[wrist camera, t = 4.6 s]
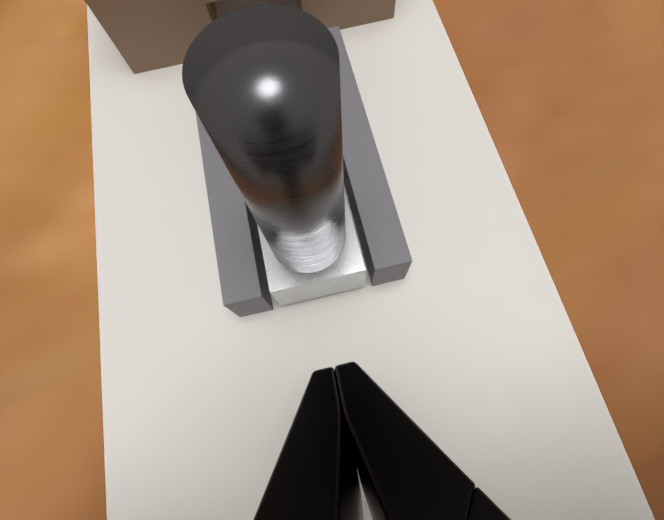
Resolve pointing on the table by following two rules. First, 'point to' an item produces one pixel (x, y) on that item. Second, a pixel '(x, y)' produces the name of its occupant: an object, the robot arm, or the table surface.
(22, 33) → the table surface
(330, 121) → the bolt
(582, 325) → the table surface
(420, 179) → the base
